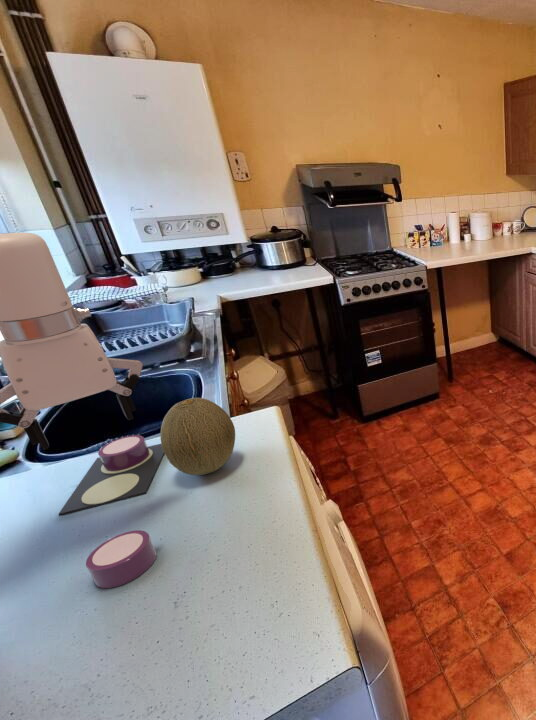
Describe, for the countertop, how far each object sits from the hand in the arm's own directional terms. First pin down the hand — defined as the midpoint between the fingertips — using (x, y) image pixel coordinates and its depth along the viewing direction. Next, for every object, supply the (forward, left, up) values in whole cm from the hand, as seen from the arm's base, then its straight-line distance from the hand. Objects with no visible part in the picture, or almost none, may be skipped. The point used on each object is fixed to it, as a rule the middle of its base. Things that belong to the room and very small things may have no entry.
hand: (89, 430), depth 66 cm
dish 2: (+3, -12, -17) cm, 21 cm away
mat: (-5, +15, -17) cm, 23 cm away
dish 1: (-5, +19, -17) cm, 26 cm away
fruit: (+10, +9, -18) cm, 22 cm away
